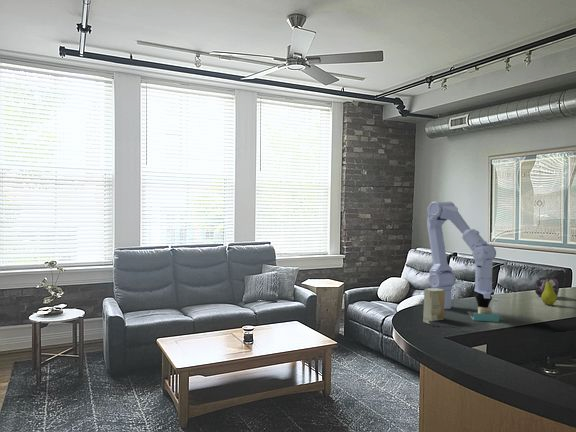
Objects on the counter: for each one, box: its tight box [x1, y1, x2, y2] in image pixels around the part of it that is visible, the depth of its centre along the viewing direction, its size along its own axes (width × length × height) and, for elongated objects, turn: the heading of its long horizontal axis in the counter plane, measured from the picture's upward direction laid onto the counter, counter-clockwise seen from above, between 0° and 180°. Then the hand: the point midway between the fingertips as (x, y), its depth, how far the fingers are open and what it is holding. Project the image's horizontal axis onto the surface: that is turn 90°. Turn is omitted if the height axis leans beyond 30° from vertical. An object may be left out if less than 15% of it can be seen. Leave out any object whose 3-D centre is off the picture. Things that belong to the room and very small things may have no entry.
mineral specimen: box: [534, 276, 560, 297], centre depth 218 cm, size 10×10×10 cm
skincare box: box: [422, 288, 445, 325], centre depth 167 cm, size 6×4×12 cm
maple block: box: [477, 306, 493, 314], centre depth 167 cm, size 4×4×4 cm
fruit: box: [540, 276, 558, 306], centre depth 200 cm, size 6×6×12 cm
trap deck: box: [466, 311, 500, 323], centre depth 171 cm, size 14×8×4 cm, turn 168°
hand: (482, 314), depth 171 cm, fingers closed
